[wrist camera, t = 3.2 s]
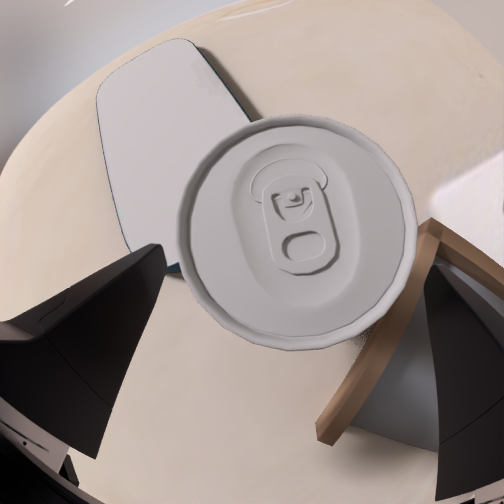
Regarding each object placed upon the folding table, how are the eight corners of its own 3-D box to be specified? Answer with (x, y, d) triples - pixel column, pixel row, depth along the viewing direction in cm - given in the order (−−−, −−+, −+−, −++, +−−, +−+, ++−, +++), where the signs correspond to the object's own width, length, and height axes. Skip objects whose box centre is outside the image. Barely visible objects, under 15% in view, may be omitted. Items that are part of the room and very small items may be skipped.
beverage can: (327, 231, 16) (374, 96, 5) (344, 308, 15) (448, 319, 4) (251, 247, 17) (161, 141, 5) (265, 325, 16) (188, 376, 4)
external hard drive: (102, 95, 24) (93, 85, 22) (190, 43, 23) (184, 30, 21) (153, 290, 18) (137, 288, 16) (304, 211, 17) (304, 200, 15)
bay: (454, 466, 11) (467, 479, 9) (315, 422, 14) (317, 440, 12) (530, 310, 12) (549, 309, 10) (415, 228, 16) (431, 217, 13)
